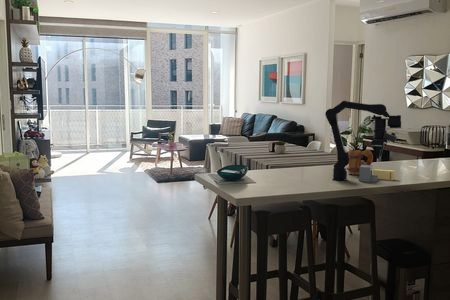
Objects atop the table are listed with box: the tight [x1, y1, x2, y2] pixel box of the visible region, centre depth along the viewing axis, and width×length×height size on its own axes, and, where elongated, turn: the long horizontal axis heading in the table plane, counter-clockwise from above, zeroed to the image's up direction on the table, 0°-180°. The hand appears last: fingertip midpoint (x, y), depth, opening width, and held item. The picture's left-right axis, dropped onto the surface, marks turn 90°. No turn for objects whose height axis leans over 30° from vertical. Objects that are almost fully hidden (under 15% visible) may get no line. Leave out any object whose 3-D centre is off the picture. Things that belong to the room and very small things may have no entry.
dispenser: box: [358, 164, 379, 183], centre depth 239 cm, size 8×8×8 cm
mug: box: [346, 148, 374, 176], centre depth 257 cm, size 15×8×15 cm, turn 62°
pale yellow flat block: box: [372, 168, 396, 181], centre depth 243 cm, size 11×2×5 cm, turn 64°
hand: (379, 157), depth 234 cm, fingers open, 9 cm apart
